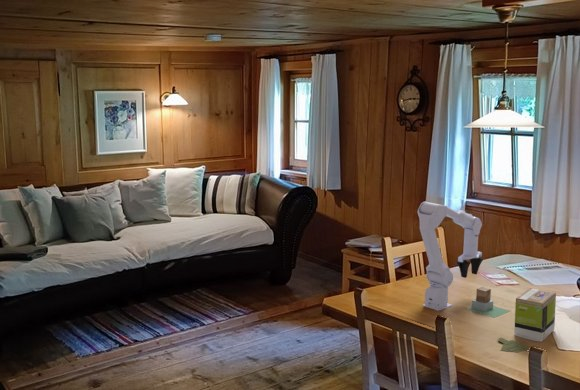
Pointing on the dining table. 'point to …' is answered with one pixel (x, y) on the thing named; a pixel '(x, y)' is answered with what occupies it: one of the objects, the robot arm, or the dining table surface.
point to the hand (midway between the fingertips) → (469, 275)
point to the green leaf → (513, 346)
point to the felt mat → (490, 311)
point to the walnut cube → (483, 294)
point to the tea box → (535, 314)
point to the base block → (482, 305)
